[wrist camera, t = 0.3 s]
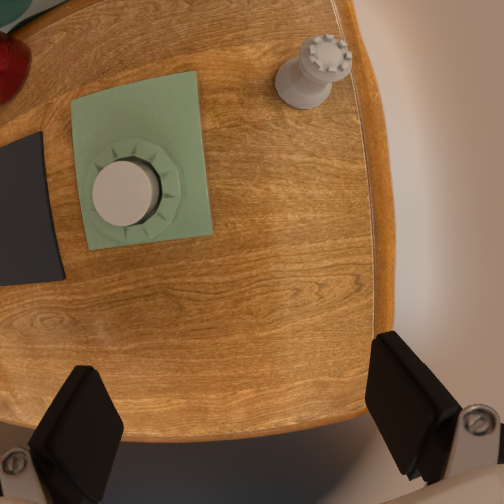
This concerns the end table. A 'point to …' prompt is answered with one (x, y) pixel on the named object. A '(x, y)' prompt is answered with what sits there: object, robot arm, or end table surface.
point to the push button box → (146, 156)
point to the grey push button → (125, 192)
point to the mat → (26, 216)
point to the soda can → (12, 66)
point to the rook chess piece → (313, 71)
